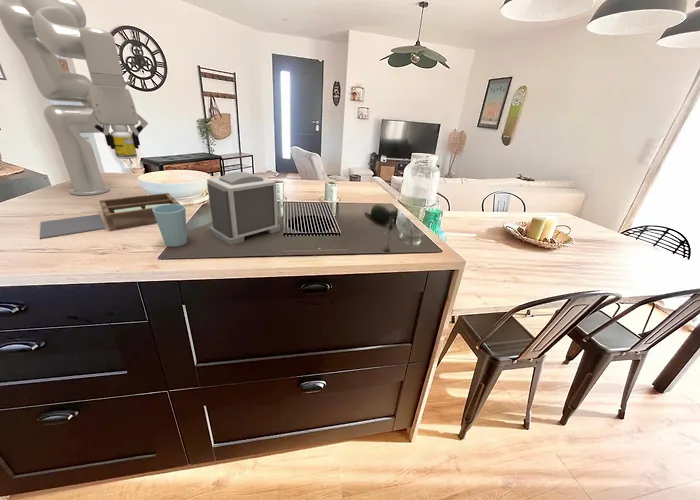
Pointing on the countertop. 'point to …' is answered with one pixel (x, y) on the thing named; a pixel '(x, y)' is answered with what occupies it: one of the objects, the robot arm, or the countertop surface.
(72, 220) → the mat
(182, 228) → the cup
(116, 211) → the offcut
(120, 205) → the rack
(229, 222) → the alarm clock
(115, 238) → the countertop surface
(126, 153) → the supplement bottle
